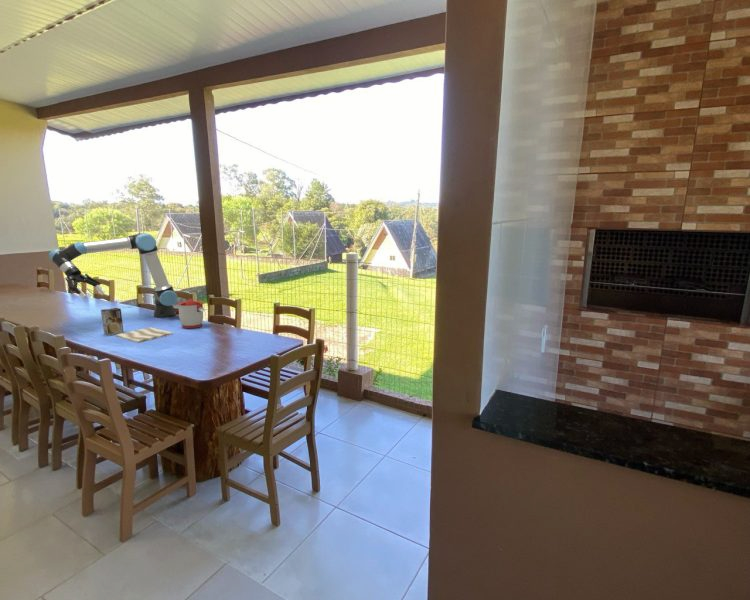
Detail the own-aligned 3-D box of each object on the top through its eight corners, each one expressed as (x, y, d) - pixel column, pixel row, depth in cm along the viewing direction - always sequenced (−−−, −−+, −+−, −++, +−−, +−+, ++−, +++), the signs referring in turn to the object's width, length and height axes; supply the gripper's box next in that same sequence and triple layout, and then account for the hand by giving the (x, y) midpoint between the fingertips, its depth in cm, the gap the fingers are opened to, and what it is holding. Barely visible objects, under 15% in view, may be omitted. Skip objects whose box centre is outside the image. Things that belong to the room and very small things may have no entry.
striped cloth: (150, 329, 254) (150, 327, 254) (172, 334, 243) (172, 332, 243) (115, 336, 235) (115, 334, 235) (137, 342, 224) (137, 340, 224)
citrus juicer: (196, 330, 253) (195, 301, 249) (174, 328, 256) (172, 299, 253) (211, 325, 268) (209, 297, 264) (189, 323, 271) (187, 296, 268)
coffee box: (119, 331, 247) (116, 307, 244) (124, 332, 244) (121, 308, 241) (103, 334, 240) (100, 309, 237) (107, 336, 236) (105, 311, 233)
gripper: (85, 272, 251) (107, 295, 251) (48, 276, 227) (72, 302, 227) (91, 264, 249) (113, 288, 250) (54, 268, 225) (79, 294, 225)
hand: (94, 295), depth 238 cm, fingers open, 13 cm apart
